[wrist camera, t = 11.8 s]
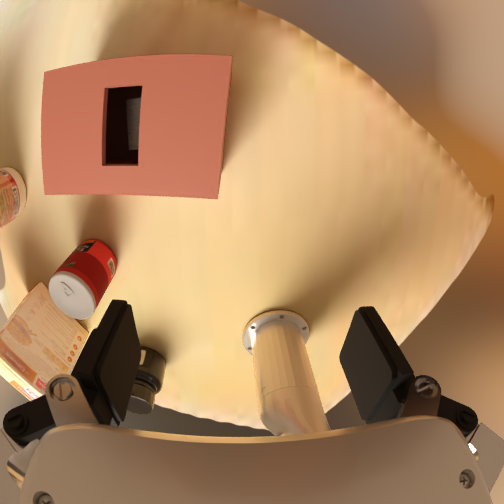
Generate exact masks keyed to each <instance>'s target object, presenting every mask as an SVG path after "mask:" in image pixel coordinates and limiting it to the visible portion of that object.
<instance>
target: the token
mask: <svg viewBox="0 0 504 504" xmlns="http://www.w3.org/2000/svg"><path fill="white" fill-rule="evenodd" d="M126 103H127V128H128V143H129V150H136V149H139V125H140V108H141V98H134V99H128V100H126Z"/></svg>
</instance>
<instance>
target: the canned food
mask: <svg viewBox="0 0 504 504" xmlns="http://www.w3.org/2000/svg"><path fill="white" fill-rule="evenodd" d="M116 266H117V263H116V258H115V255H114V253H113V252H112V250H111V249H110V248H109V247H108V246H107V245H106V244H105V243H103V242H101V241H99V240H96V239H90V240H86V241H84V242H82V243H81V244H80V245H79V246H78V247H77V248H76V249H75V250H74V251H73V252H72V254H71V255H70V256H69V257H68V258H67V259H66V260H65V261H64V263H63V264H62V265H61V266H60V267H59V268H58V270H57V271H56V272H55V273H54V275H53V276H52V278H51V279H50V281H49V293H50V296H51V298H52V300H53V302H54V303H55V305H56V306H57V307H58V308H59V309H60V310H61V311H62V312H63V313H65V314H66V315H68V316H70V317H72V318H75V319H80V320H82V319H87V318H89V317H90V316H91V315H92V314H93V313H94V311H95V309H96V308H97V306H98V304H99V302H100V300H101V298H102V296H103V295H104V293H105V291H106V289H107V287H108V286H109V284H110V282H111V280H112V278H113V277H114V275H115V273H116Z"/></svg>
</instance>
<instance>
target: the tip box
mask: <svg viewBox="0 0 504 504" xmlns="http://www.w3.org/2000/svg"><path fill="white" fill-rule="evenodd" d="M231 75H232V56H226V55H207V54H164V55H145V56H133V57H123V58H114V59H107V60H100V61H93V62H88V63H82V64H77V65H72V66H67V67H63V68H58V69H54V70H50V71H46V72H45V73H44V82H43V94H42V114H41V148H42V169H43V181H44V191H45V195H61V194H102V195H145V196H170V197H190V198H207V199H218V193H219V186H220V179H221V171H222V160H223V149H224V139H225V129H226V119H227V110H228V101H229V92H230V83H231ZM134 98H141V108H140V125H139V149H136V150H129V143H128V128H127V103H126V100H128V99H134Z"/></svg>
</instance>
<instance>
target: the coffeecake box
mask: <svg viewBox="0 0 504 504" xmlns="http://www.w3.org/2000/svg"><path fill="white" fill-rule="evenodd" d="M87 336H88V332H87V331H86V330H85V329H84V328H83V327H82V326H81V325H80V324H79V323H78V322H77V321H76V320H75V319H74V318H72V317H70V316H68V315H66V314H65V313H63V312H62V311H61V310H60V309H59V308H58V307H57V306H56V305H55V303H54V302H53V300H52V298H51V296H50V293H49V290H48V289H47V287H46V286H45V285H44V284H43V283H42V281H41V282H40V283H39V284H37V285H36V286H35V287H34V288H33V289H32V290H31V291H30V292H29V293H28V294H27V295H26V297H25V298H24V299H23V300H22V302H21V303H20V304H19V306H18V307H17V308H16V310H15V311H14V312H13V314H12V315H11V316H10V318H9V319H8V321H7V322H6V324H5V325H4V327H3V328H2V329H1V331H0V375H2V376H3V377H4V378H5V379H6V380H7V381H8V382H9V383H10V384H11V385H12V386H14V387H15V388H16V389H17V390H18V391H19V392H20V393H22V394H23V395H24V396H25V397H26V398H28V399H29V400H30V401H32V400H34V399H36V398H38V397H40V396H43V395H45V387H46V384H47V383H48V381H49V380H50V379H51V378H52V377H54V376H56V375H59V374H68V375H70V374H71V372H72V369H73V367H74V365H75V362H76V360H77V358H78V356H79V353H80V351H81V349H82V347H83V345H84V342H85V340H86V338H87Z"/></svg>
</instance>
